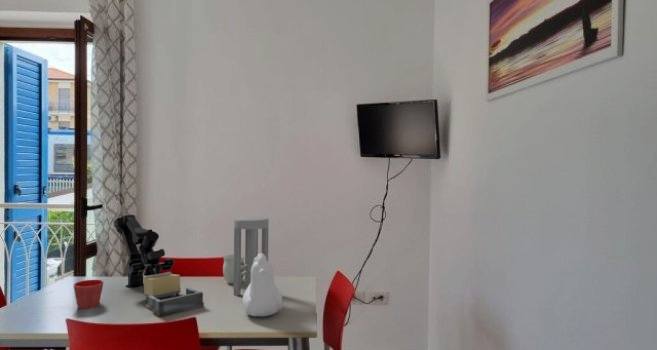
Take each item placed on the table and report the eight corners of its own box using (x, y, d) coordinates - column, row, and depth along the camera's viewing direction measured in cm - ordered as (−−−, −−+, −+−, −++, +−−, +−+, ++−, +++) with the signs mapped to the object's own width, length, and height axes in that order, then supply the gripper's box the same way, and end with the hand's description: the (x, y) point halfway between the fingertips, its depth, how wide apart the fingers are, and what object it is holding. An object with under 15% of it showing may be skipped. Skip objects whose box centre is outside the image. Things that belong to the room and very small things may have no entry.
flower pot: (109, 303, 177) (109, 280, 177) (86, 311, 167) (87, 287, 167) (90, 300, 181) (90, 278, 181) (67, 308, 170) (67, 284, 170)
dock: (131, 302, 182) (131, 286, 182) (173, 293, 196) (173, 278, 195) (158, 319, 162) (158, 301, 162) (203, 308, 175) (203, 292, 175)
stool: (227, 295, 190) (227, 219, 189) (246, 287, 204) (246, 215, 204) (256, 300, 184) (257, 221, 184) (273, 290, 198) (274, 217, 198)
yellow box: (143, 298, 181) (143, 275, 181) (170, 293, 190) (170, 271, 189) (153, 304, 174) (153, 280, 174) (180, 298, 183) (180, 275, 182)
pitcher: (250, 277, 222) (250, 251, 222) (239, 287, 204) (239, 259, 204) (230, 276, 223) (230, 251, 223) (217, 286, 205) (217, 258, 205)
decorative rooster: (280, 322, 158) (281, 256, 158) (238, 322, 158) (239, 256, 157) (284, 301, 183) (284, 244, 183) (248, 301, 182) (248, 244, 182)
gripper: (131, 246, 182) (141, 276, 175) (172, 241, 195) (183, 268, 188) (124, 261, 188) (133, 290, 180) (165, 255, 201) (175, 282, 193)
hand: (157, 282), depth 185 cm, fingers closed, pressing on yellow box
